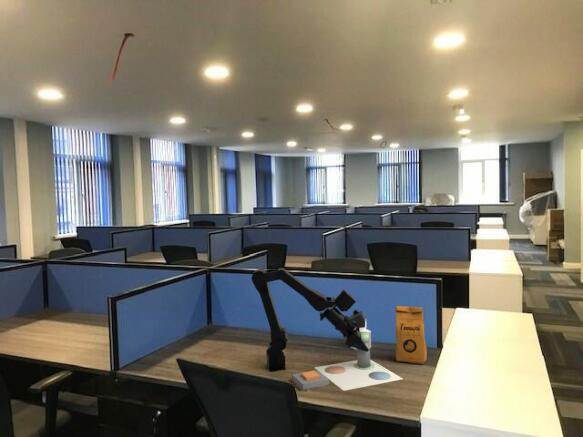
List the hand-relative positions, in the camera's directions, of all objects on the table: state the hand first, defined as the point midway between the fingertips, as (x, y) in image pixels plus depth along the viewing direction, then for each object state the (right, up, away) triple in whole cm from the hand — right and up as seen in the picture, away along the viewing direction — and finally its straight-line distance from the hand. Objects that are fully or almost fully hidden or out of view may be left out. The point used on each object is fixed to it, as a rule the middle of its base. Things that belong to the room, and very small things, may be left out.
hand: (367, 348), depth 183 cm
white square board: (-5, -8, -6) cm, 12 cm away
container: (0, -7, +26) cm, 27 cm away
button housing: (-23, -9, -13) cm, 28 cm away
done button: (-23, -8, -13) cm, 27 cm away
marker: (-1, -7, 0) cm, 7 cm away
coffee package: (+19, -7, +7) cm, 21 cm away
